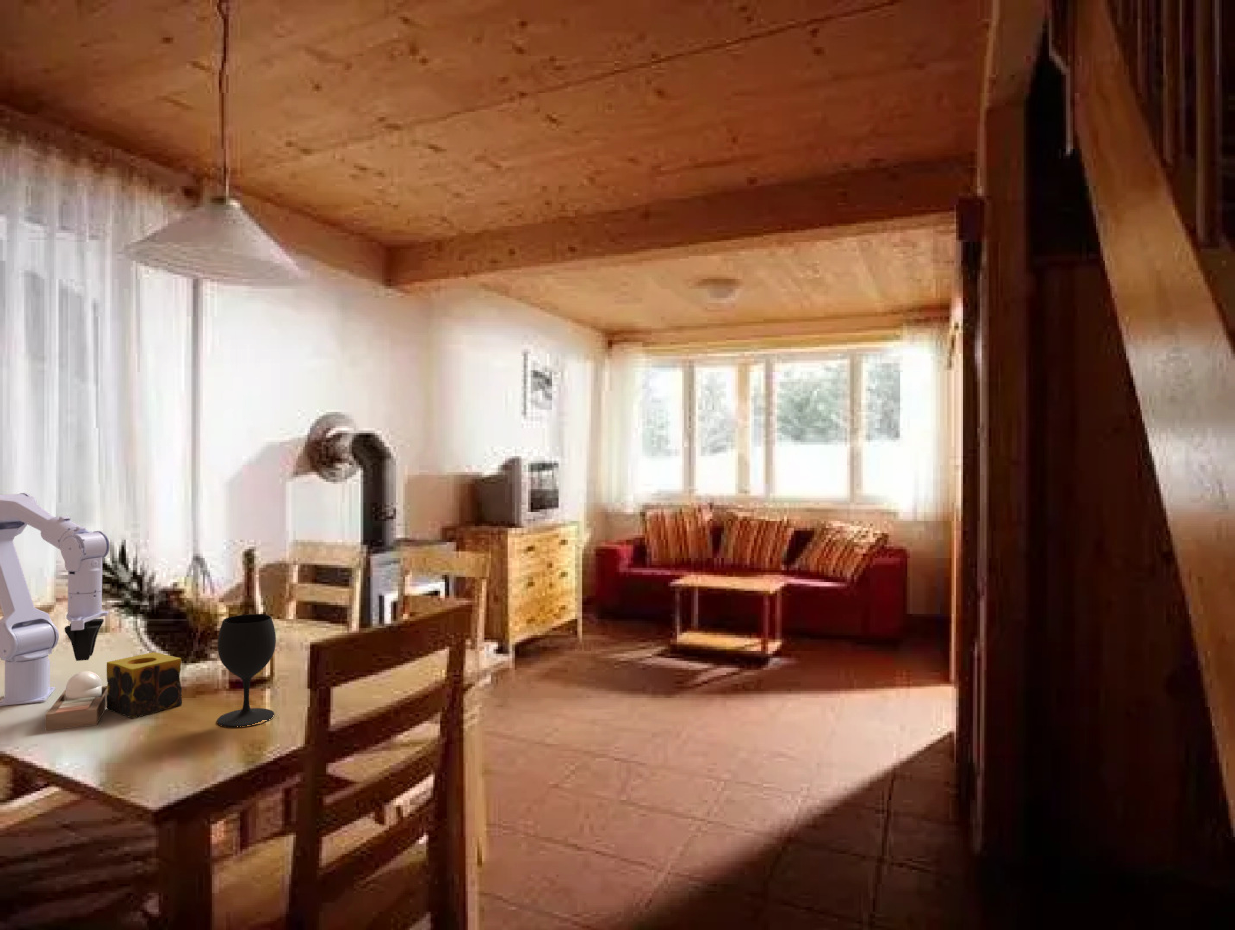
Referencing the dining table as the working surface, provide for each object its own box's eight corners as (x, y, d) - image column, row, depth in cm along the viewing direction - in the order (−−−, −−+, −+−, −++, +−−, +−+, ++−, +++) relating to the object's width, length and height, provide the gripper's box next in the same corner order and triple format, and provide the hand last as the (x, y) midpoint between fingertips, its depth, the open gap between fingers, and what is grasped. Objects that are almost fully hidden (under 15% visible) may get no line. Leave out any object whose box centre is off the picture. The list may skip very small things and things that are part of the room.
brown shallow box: (64, 704, 157) (65, 689, 157) (110, 699, 160) (111, 684, 160) (45, 730, 142) (45, 713, 142) (96, 724, 146) (96, 708, 146)
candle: (183, 705, 158) (183, 658, 158) (131, 719, 149) (132, 669, 149) (156, 696, 163) (156, 650, 163) (105, 710, 154) (105, 661, 154)
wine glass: (259, 706, 158) (261, 611, 158) (284, 718, 151) (285, 618, 151) (207, 719, 150) (208, 618, 150) (230, 732, 143) (232, 627, 143)
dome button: (69, 698, 156) (69, 669, 156) (104, 694, 158) (104, 666, 158) (62, 707, 150) (62, 677, 150) (98, 703, 153) (98, 674, 153)
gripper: (102, 596, 149) (101, 665, 149) (114, 584, 162) (113, 647, 162) (58, 598, 146) (57, 668, 146) (74, 586, 159) (73, 650, 159)
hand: (84, 658), depth 154 cm, fingers open, 3 cm apart
